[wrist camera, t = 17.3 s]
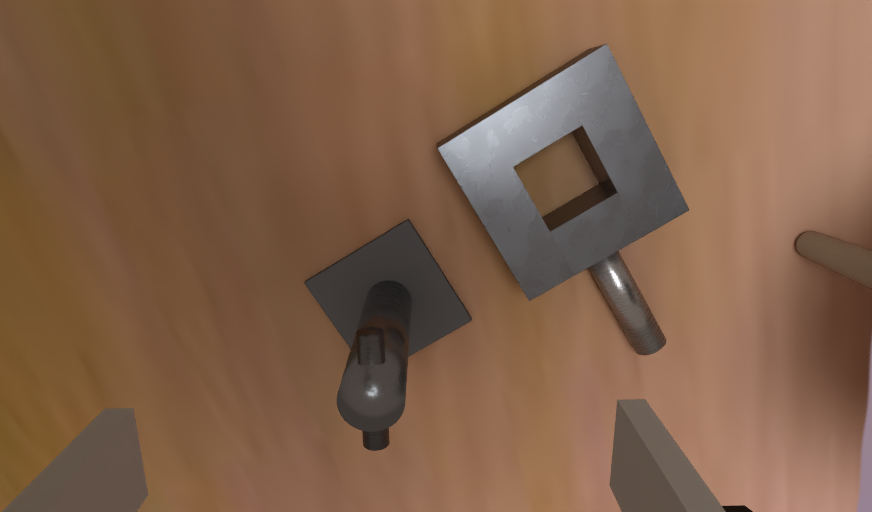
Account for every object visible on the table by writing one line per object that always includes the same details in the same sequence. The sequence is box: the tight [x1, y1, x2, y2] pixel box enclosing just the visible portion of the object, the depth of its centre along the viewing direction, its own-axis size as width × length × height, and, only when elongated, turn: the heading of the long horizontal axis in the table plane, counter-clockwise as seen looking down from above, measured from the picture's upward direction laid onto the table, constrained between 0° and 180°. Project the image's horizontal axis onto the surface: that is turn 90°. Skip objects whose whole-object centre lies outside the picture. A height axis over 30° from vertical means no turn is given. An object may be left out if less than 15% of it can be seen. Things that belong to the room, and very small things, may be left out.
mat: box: [305, 219, 472, 356], centre depth 43 cm, size 9×9×1 cm
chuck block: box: [437, 44, 689, 355], centre depth 40 cm, size 21×12×4 cm, turn 31°
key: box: [337, 281, 412, 451], centre depth 36 cm, size 3×6×14 cm, turn 1°
